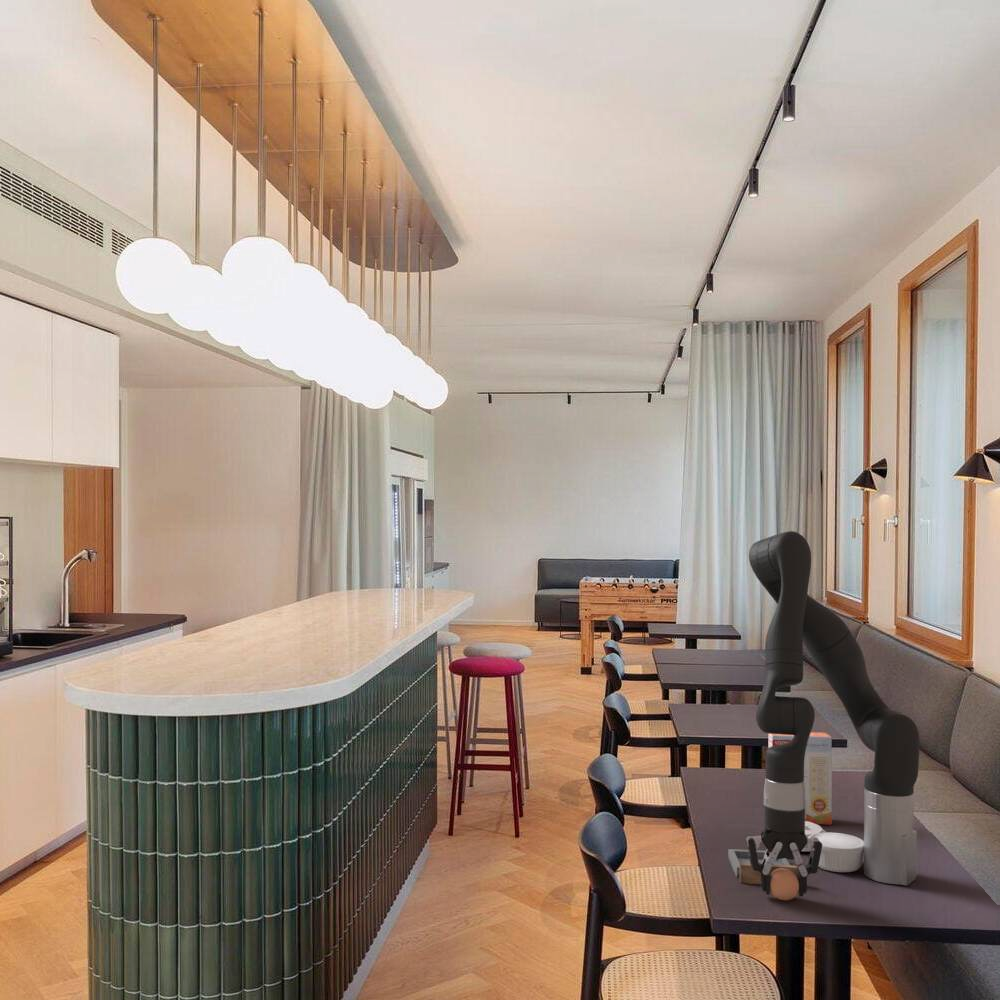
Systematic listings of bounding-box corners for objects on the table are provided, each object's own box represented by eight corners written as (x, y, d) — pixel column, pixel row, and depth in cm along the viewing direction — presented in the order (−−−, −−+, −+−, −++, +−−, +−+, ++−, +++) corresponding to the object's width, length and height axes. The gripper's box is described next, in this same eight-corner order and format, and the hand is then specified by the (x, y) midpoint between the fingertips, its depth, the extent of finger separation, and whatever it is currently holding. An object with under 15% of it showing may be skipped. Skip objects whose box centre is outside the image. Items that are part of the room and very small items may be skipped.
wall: (801, 883, 188) (801, 865, 188) (803, 886, 187) (803, 867, 187) (739, 880, 189) (739, 862, 189) (740, 883, 188) (740, 865, 188)
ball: (803, 899, 180) (804, 869, 181) (791, 907, 176) (791, 876, 176) (775, 891, 184) (776, 861, 184) (762, 899, 180) (763, 869, 180)
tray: (781, 861, 201) (781, 851, 201) (793, 880, 190) (793, 869, 190) (728, 858, 202) (728, 849, 202) (736, 877, 191) (736, 867, 191)
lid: (755, 845, 212) (755, 822, 212) (783, 833, 221) (783, 811, 221) (809, 860, 203) (809, 836, 203) (836, 846, 212) (836, 823, 212)
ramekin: (804, 855, 205) (804, 830, 205) (859, 858, 203) (859, 833, 204) (812, 873, 194) (812, 846, 194) (870, 876, 192) (870, 850, 192)
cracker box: (826, 818, 232) (826, 731, 233) (832, 826, 226) (833, 736, 227) (767, 815, 234) (767, 729, 234) (771, 823, 228) (772, 734, 228)
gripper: (818, 799, 184) (817, 888, 183) (742, 796, 185) (741, 884, 184) (828, 810, 176) (827, 903, 176) (749, 807, 177) (747, 899, 177)
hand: (783, 893), depth 180 cm, fingers closed on ball, 5 cm apart
